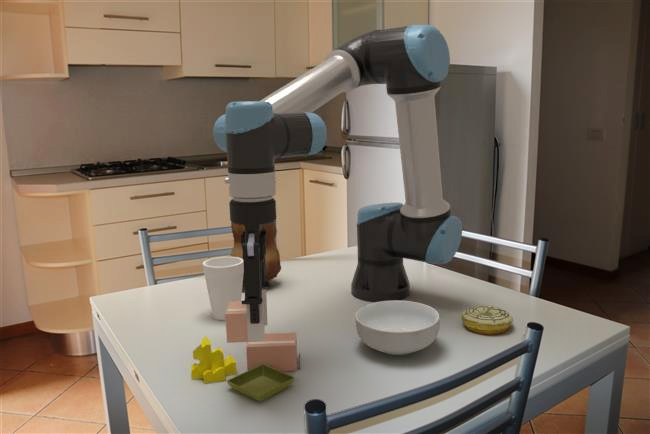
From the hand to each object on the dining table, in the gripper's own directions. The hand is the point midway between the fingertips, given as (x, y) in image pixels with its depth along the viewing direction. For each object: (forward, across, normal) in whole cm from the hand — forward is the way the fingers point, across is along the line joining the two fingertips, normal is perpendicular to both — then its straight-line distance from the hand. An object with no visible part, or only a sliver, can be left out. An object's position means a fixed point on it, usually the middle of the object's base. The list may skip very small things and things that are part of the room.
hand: (258, 332), depth 97 cm
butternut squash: (+10, -58, -6) cm, 59 cm away
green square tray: (+11, 0, 0) cm, 11 cm away
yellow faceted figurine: (+11, -6, -9) cm, 15 cm away
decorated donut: (+10, -24, +47) cm, 54 cm away
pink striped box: (+10, -9, +2) cm, 14 cm away
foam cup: (+10, -36, -11) cm, 39 cm away
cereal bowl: (+10, -15, +26) cm, 32 cm away
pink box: (0, 0, -2) cm, 2 cm away
